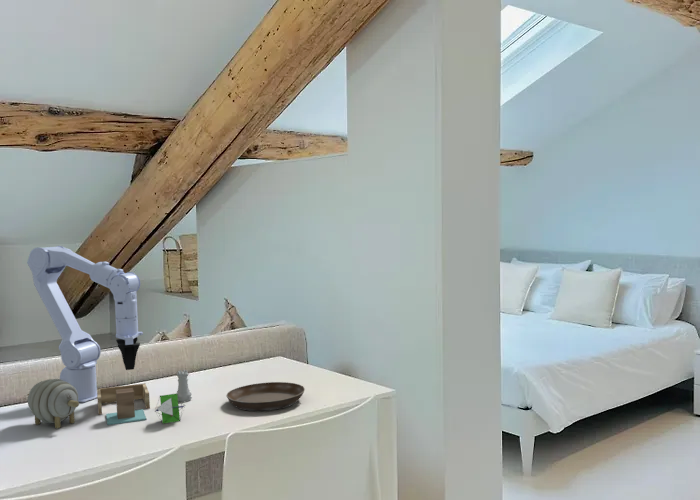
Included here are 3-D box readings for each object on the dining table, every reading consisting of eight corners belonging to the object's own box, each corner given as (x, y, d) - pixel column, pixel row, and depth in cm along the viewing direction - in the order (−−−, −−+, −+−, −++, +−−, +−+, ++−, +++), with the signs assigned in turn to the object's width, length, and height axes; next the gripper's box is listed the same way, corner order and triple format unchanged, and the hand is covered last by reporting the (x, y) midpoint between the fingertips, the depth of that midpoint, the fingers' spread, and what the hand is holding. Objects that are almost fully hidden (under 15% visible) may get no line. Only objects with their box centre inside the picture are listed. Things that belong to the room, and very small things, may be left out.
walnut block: (117, 415, 170) (115, 389, 170) (133, 412, 172) (132, 388, 172) (117, 419, 167) (116, 393, 166) (134, 417, 168) (133, 391, 168)
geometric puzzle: (152, 409, 168) (154, 388, 164) (180, 405, 171) (182, 384, 167) (156, 432, 163) (158, 411, 159) (185, 428, 166) (188, 407, 162)
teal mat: (106, 415, 172) (106, 413, 172) (143, 410, 175) (143, 409, 175) (107, 425, 163) (107, 423, 163) (146, 419, 167) (146, 418, 167)
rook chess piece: (187, 402, 182) (186, 373, 181) (172, 402, 183) (171, 372, 182) (194, 398, 186) (193, 369, 186) (179, 397, 187) (178, 369, 187)
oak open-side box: (97, 403, 184) (97, 388, 183) (145, 397, 188) (145, 383, 188) (98, 414, 173) (97, 399, 172) (149, 408, 177) (149, 393, 177)
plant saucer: (210, 410, 175) (210, 397, 175) (255, 390, 193) (254, 379, 193) (279, 417, 166) (278, 404, 166) (318, 396, 185) (318, 384, 184)
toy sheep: (48, 415, 174) (46, 372, 173) (98, 421, 167) (95, 377, 166) (13, 427, 164) (10, 382, 164) (63, 434, 157) (61, 387, 157)
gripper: (144, 319, 179) (146, 370, 180) (139, 312, 192) (142, 360, 193) (116, 321, 176) (118, 373, 177) (113, 314, 190) (115, 362, 190)
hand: (128, 366), depth 185 cm, fingers open, 7 cm apart
